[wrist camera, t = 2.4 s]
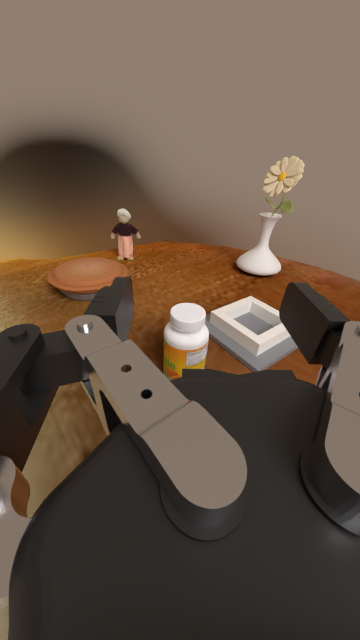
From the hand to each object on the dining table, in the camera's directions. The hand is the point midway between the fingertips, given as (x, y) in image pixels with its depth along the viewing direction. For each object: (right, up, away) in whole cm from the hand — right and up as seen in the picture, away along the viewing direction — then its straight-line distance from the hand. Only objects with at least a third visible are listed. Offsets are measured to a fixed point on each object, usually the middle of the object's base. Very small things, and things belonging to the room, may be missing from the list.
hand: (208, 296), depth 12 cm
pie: (-20, +5, +38) cm, 43 cm away
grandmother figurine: (-16, +16, +53) cm, 57 cm away
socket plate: (+11, -3, +28) cm, 30 cm away
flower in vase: (+19, +11, +49) cm, 54 cm away
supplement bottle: (-1, -8, +20) cm, 21 cm away
